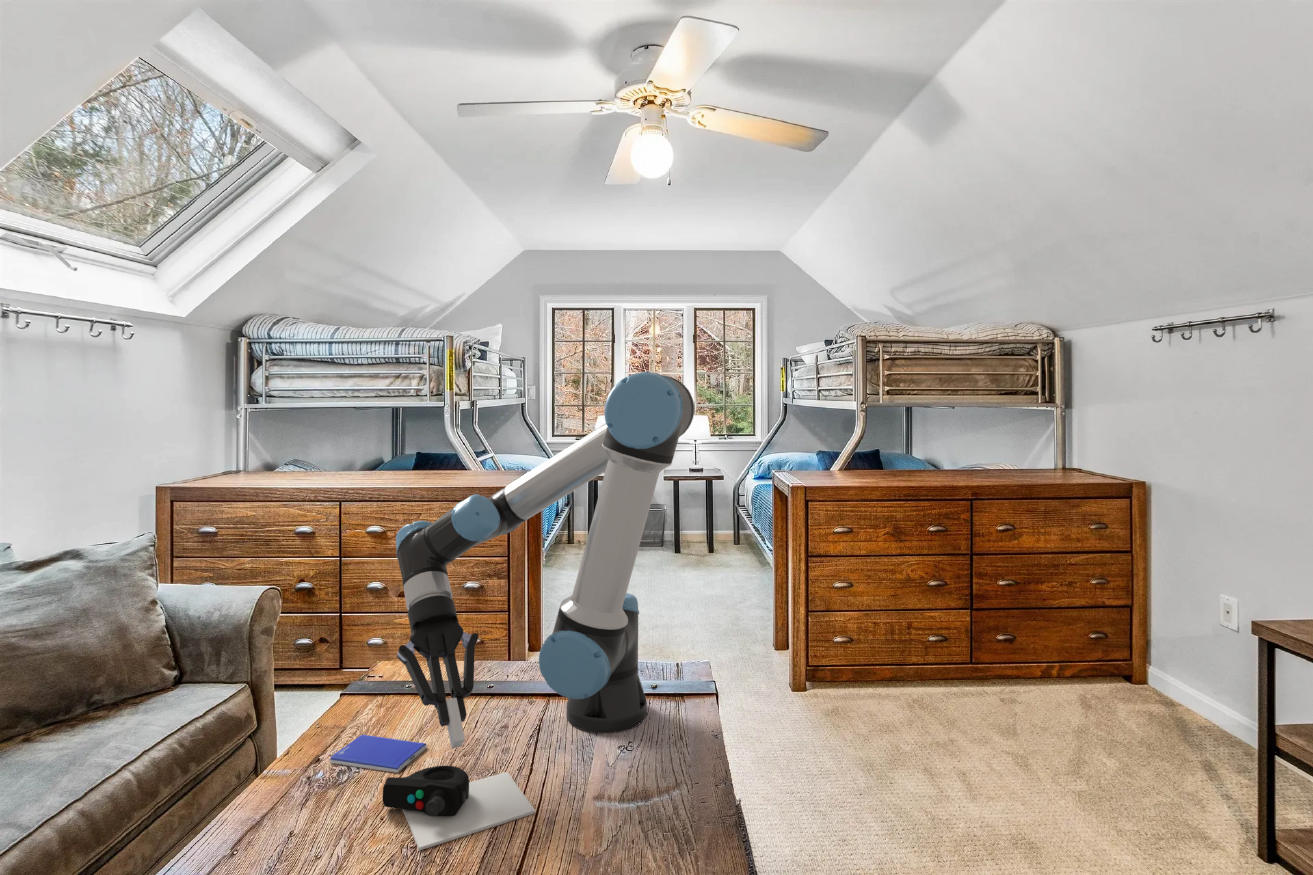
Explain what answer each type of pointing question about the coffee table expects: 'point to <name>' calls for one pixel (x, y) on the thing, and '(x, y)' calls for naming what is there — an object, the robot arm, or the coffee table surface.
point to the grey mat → (472, 812)
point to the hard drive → (378, 753)
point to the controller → (428, 791)
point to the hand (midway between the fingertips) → (458, 743)
